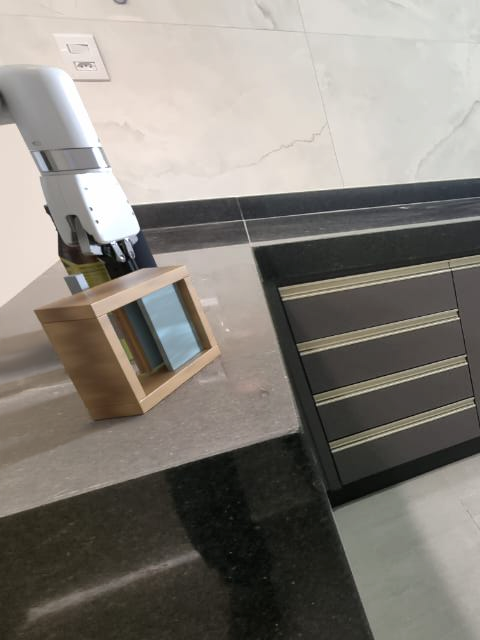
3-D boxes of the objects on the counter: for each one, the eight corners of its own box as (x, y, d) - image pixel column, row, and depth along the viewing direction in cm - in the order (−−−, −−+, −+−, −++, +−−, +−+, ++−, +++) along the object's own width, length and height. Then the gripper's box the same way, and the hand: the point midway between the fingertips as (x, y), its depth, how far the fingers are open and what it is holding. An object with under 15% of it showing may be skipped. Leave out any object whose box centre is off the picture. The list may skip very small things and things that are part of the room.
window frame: (92, 420, 59) (32, 309, 53) (181, 358, 75) (142, 268, 69) (144, 414, 60) (90, 304, 54) (221, 353, 76) (185, 264, 70)
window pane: (113, 377, 65) (62, 277, 60) (150, 354, 72) (107, 262, 66) (149, 373, 66) (102, 273, 60) (182, 350, 72) (143, 259, 67)
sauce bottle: (101, 315, 96) (46, 202, 88) (144, 309, 98) (94, 198, 90) (84, 325, 91) (24, 207, 82) (130, 319, 93) (76, 203, 85)
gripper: (80, 161, 82) (133, 276, 90) (-3, 168, 69) (68, 302, 76) (135, 158, 83) (183, 271, 91) (65, 164, 70) (127, 296, 78)
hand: (130, 285), depth 84 cm, fingers closed
